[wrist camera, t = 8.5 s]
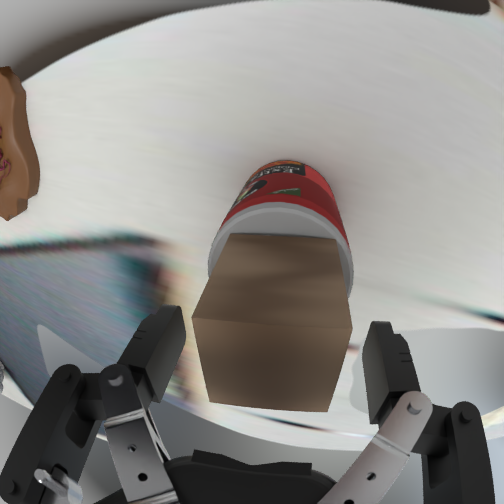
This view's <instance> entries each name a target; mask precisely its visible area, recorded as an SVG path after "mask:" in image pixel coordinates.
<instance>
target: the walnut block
mask: <svg viewBox="0 0 504 504" xmlns="http://www.w3.org/2000/svg"><path fill="white" fill-rule="evenodd" d="M192 322H193V328H194V333H195V338H196V343H197V347H198V352H199V357H200V362H201V366H202V371H203V375H204V380H205V384H206V388H207V392H208V397H209V401H210V402H213V403H220V404H227V405H235V406H243V407H252V408H262V409H273V410H287V411H305V412H327V411H328V409H329V406H330V403H331V400H332V397H333V394H334V391H335V388H336V385H337V381H338V378H339V375H340V372H341V368H342V365H343V362H344V358H345V355H346V351H347V348H348V344H349V340H350V337H351V333H352V329H353V328H352V322H351V316H350V310H349V304H348V298H347V292H346V287H345V282H344V276H343V271H342V266H341V261H340V256H339V251H338V247H337V242H336V239H325V238H307V237H288V236H267V235H246V234H230V235H229V237H228V239H227V241H226V243H225V246H224V248H223V250H222V252H221V254H220V256H219V258H218V261H217V263H216V265H215V267H214V269H213V271H212V273H211V276H210V278H209V280H208V282H207V284H206V286H205V289H204V291H203V293H202V295H201V297H200V300H199V302H198V304H197V306H196V308H195V311H194V313H193V315H192Z"/></svg>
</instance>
